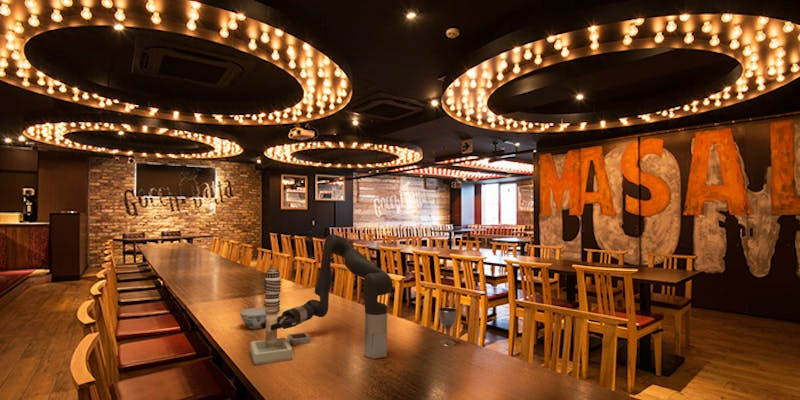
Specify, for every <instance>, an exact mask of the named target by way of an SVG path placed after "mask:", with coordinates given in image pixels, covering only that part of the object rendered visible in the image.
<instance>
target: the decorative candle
mask: <svg viewBox="0 0 800 400" xmlns="http://www.w3.org/2000/svg"><path fill="white" fill-rule="evenodd" d="M280 273H281V271H280V270H279V269H278V268H268V269H267V270H266V271H265V279H264V283H263V284H264V285H263V286H264V295H265V298H264V302H263V303H264V304H263V306H264V307H263V308H278V312H277V316H279V314H280V311H281V310H280V309H281V307H280V305H281V303H280V302H281V301H280V300H281V299H280V293H281V290H280V289H281V285H282V281H281V277H280Z"/></svg>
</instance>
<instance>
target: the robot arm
mask: <svg viewBox="0 0 800 400" xmlns="http://www.w3.org/2000/svg"><path fill="white" fill-rule="evenodd" d="M332 254H333V255H336V256H339V257H341V258H343V263H344V266H345V267H346V269H347V270H348V271H349V272H350V273H352V274H353V275H354V276H356V277H359V278H363V284H362V285H363V307H364V339H363V340H364V345H363V346H364V348H363V349H364V351H363V353H364V356H365V357H367V358H370V359H373V360H374V359H375V360H376V359H382V358H387V357H388V350H387V349H388V306H387V304H386V303H383V302H379V301H378V299H377V297H378V296H384V295H388V294H389V293H391V292H392V291H393V287H394V285H393V280H392V278H391V276H390V275H389V274H388V273H387V272H386V271H384V270H383V269H381V268H380V267H378V266H376V265H375V264H374V263H373V262H371V261H370V260H369V259H368V258H367V257H366V256H365V255H363V254H362V253H361V252H360V251H359V250H358V249H356V248H354V246H353V245H352V244H351V243H350V241H349V240H348V239H347V238H345V237H343V236H340V235H337V234H336V233H330V234H328V235H327V237H326V238H325V241H324V244H323V248H322V255H321V261H320V267H319V269H320V270H319V274H318V278H317V280H316V284H315V288H314V294H315V295H316V296H318V297H319V300H316V299H309V300H308V301H307V302H305V303H304V304H303V305H299V306H296V307H292V308H289V309H285V310H284V311H283V312H282V313H281V315H277V323H276V324H273V325H271V331H273V330H276V329H277V330H278V329H279V330H281V329H283V330H286V329H291V328H294V327H297V326H298V325H301V324H303V323H304V322H306V321H309V320H311V319H312V318H313V317H314V316H315V317H318V318H324V317H326V315H327V314H328V311H329V308H330V307H329V304H330V303H329V301H330V300H329V299H330V297H329V296H330V291H331V288H332V285H333V278H334V277H333V271H332V267H331V266H332V265H331V258H332ZM260 329H261V330H266V319H265V322H264V323H262V324H261V328H260Z"/></svg>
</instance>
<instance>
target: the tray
mask: <svg viewBox="0 0 800 400" xmlns="http://www.w3.org/2000/svg"><path fill="white" fill-rule="evenodd" d="M293 351H294V350H293V348H292V346H291V344H289V342H288V341H287V337H280V338H278V337H277V347H275V348H265V339H264V340H255V341H250V355H251V358H252V362H253V365H254V366H259V365H260V366H261V365H267V364H271V363H272V364H273V363H280V362H287V361H293V357H294V356H293V354H294V353H293Z"/></svg>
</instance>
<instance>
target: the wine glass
mask: <svg viewBox="0 0 800 400" xmlns="http://www.w3.org/2000/svg"><path fill="white" fill-rule="evenodd" d="M457 311H458V310H457V309H456V308H455V307H446V306H445V307H439V309H438V317H439V321H440V323H441V324H442V326H443V327H444V329H445V331H446V340H445V339H444V340H441V341H439V345H441V346H449V347H451V346H455V345H456V342H455V341H453V340H449V335H450V329H451V328H452V327H453V326H454V325H455V323H456V320H457V316H458V315H457Z"/></svg>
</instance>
